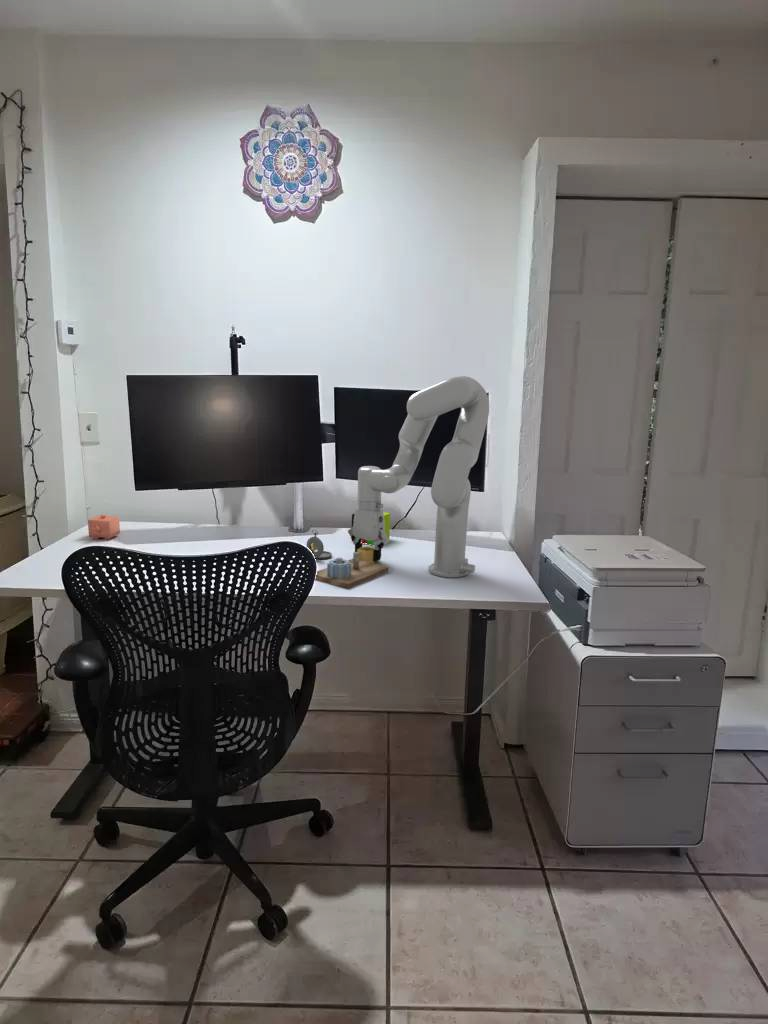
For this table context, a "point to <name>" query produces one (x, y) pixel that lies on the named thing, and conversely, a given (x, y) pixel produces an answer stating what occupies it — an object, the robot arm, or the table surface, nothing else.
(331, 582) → the gear board
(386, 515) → the puzzle toy
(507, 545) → the table surface
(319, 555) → the pocket watch
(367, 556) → the gear
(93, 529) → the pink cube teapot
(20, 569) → the table surface
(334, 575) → the gear
